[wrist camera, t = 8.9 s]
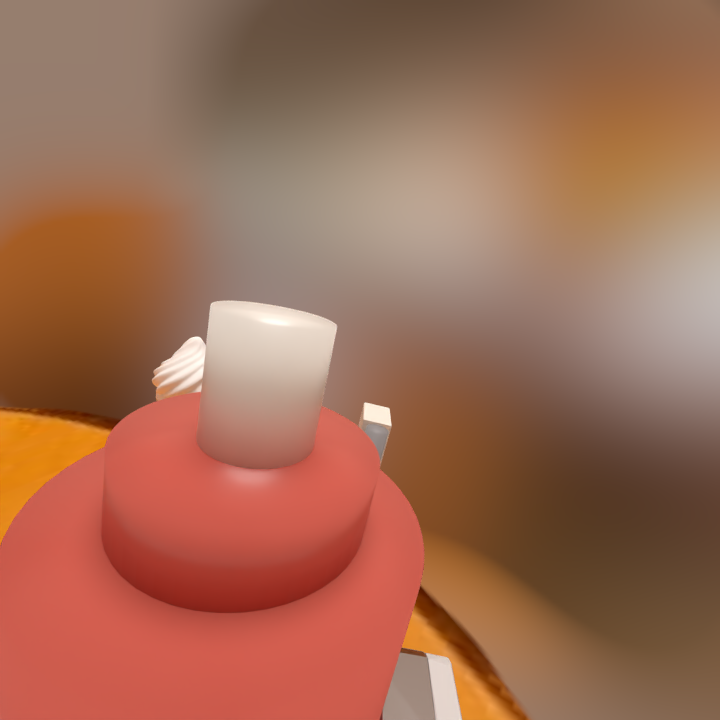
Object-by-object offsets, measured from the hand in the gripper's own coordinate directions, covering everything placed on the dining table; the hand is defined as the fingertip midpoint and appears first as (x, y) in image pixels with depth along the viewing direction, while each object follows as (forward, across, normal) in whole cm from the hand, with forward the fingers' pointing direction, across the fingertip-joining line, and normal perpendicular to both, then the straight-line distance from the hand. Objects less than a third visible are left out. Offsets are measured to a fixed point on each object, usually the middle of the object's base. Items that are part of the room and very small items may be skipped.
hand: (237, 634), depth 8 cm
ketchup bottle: (-1, 0, +8) cm, 8 cm away
